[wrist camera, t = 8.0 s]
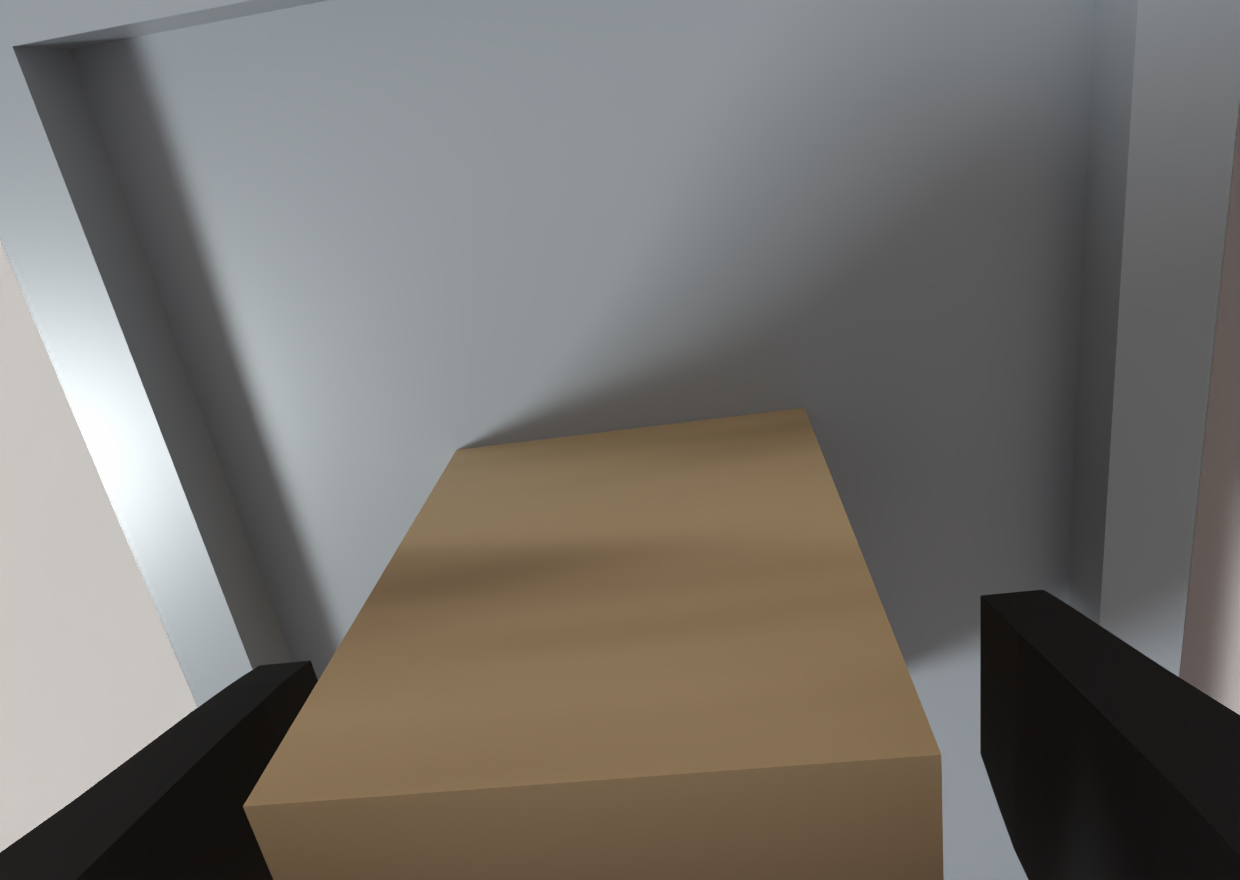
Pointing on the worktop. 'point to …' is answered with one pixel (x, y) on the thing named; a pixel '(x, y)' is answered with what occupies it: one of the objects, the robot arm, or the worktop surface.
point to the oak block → (616, 680)
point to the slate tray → (634, 286)
